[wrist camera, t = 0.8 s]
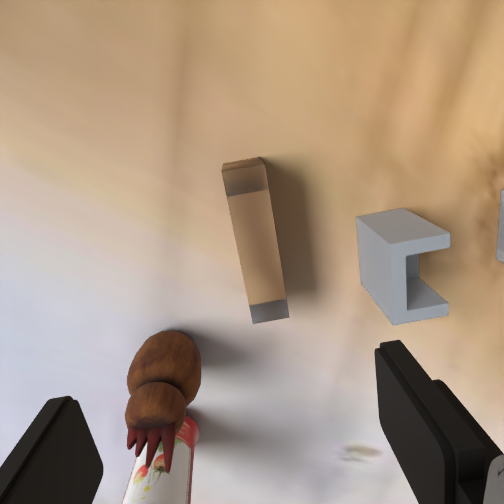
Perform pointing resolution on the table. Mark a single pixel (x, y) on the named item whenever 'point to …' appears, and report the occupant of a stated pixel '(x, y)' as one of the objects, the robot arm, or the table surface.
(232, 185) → the rail
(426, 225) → the post
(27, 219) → the table surface
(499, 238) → the post
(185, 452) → the liquor
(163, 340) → the wooden figurine
